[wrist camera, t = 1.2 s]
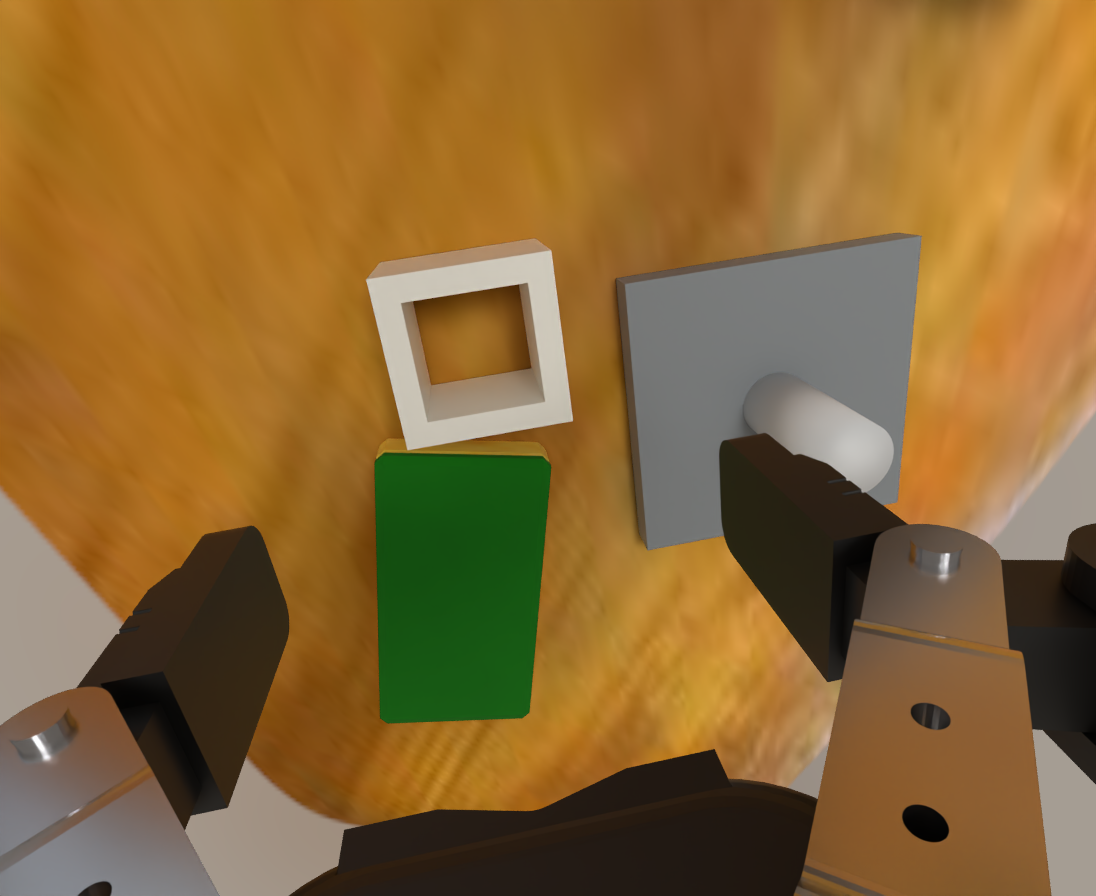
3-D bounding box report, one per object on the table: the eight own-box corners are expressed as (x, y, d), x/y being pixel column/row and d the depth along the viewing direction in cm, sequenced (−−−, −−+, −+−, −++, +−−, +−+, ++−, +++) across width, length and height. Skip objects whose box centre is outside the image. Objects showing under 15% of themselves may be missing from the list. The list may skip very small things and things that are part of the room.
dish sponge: (384, 688, 33) (379, 725, 31) (380, 434, 28) (373, 456, 26) (524, 684, 34) (529, 719, 32) (545, 438, 29) (552, 460, 27)
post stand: (615, 278, 26) (673, 314, 19) (897, 232, 27) (1048, 252, 20) (639, 533, 31) (692, 635, 24) (878, 488, 32) (994, 574, 25)
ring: (379, 262, 25) (366, 279, 21) (535, 238, 25) (551, 250, 21) (414, 409, 27) (407, 450, 23) (555, 385, 28) (573, 421, 24)
